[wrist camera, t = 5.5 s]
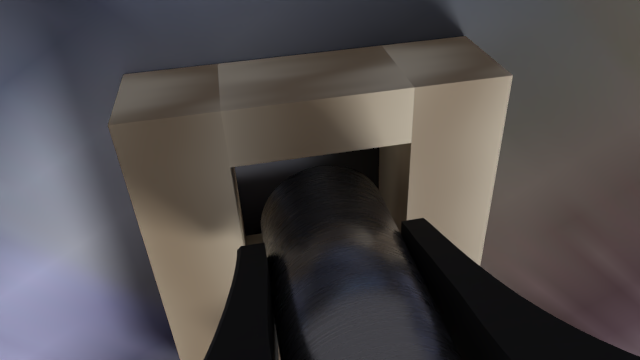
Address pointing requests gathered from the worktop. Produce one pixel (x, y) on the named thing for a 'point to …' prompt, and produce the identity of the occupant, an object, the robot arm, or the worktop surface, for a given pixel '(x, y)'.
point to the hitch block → (302, 151)
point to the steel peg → (346, 274)
